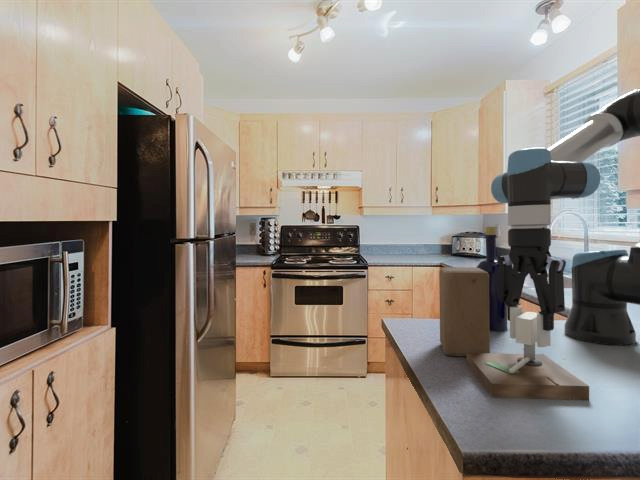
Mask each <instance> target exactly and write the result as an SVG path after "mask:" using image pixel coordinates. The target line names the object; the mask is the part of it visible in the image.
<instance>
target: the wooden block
mask: <svg viewBox="0 0 640 480" xmlns="http://www.w3.org/2000/svg"><path fill="white" fill-rule="evenodd" d="M438 272H439V275H438V277H439V282H438V283H439V290H438V291H439V341H440V345H441V347H442V350H443V352H444V354H445V355H446V356H450V357H466V353H491V352H490V351H491V350H490V345H491V343H490V340H491V339H490V331H489V274H488V272H486V271H484V270H482V269H480V268H477V266H472V267H471V266H469V267H467V266H466V267H459V266H457V267H455V266H454V267H449V266H448V267H447V266H444V267H441V268H440V269H439V271H438Z"/></svg>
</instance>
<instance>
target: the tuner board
mask: <svg viewBox="0 0 640 480" xmlns="http://www.w3.org/2000/svg"><path fill="white" fill-rule="evenodd" d="M465 357H466V365H467V366H468V368H469V369H470V371H471V372H472V373H473V374H474V376H475V377H476V378H477V380H478V381H479V382H480V383H481V385H483V387H484V389H485V390H486V391H487V392H488V393H489V394H490V397H492V398H511V399H512V398H515V399H545V400H546V399H547V400H549V399H550V400H551V399H552V400H577V401H578V400H581V401H582V400H583V401H589V400H590V386H589V384H587V383H585V382H584V381H583V380H581V379H580V378H579V377H577V376H576V375H574V374H572V373H571V372H570V371H568V370H567V369H565V368H564V367H562V366H561V365H560V364H558V363H557V362H555V361H554V360H552V358H550V357H548V356H547V355H545V354H543V353H535V360H534V361H528V362H527V363H526V364H524V365H523V366H522V367H520V368H519V369H518V370H516V371H515V372H514V373H511V372H509V369H510V368H512V367H513V366H514V365H516V364H517V363H518V362H520V361H521V360H523V359H524V353H491V352H490V353H466V356H465Z"/></svg>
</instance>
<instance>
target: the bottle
mask: <svg viewBox="0 0 640 480" xmlns="http://www.w3.org/2000/svg"><path fill="white" fill-rule="evenodd" d="M496 228H497V227H496V226H485V235H484V239H485V247H486V248H485V251H486V255H485V256H486V257H485V258H486V259H484V260H481V261H480V262H479V263H478V264H477V266H476V267H477V268H480V269H482V270H484V271H486V272H488V274H489V332H498V333H500V332H505V330H507V329H508V313H507V305H506V303H504V302H501V301H499V269H500V267H499V263H498V259H496V249H497V248H496V245H497V243H496V242H497V237H498V236H497V234H496V233H497V232H496V231H497V229H496ZM507 331H508V330H507Z"/></svg>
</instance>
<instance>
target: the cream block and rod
mask: <svg viewBox="0 0 640 480" xmlns="http://www.w3.org/2000/svg"><path fill="white" fill-rule="evenodd" d="M537 313H538V312H533V311H526V312H524V313H522V315H520V316H518V317H516V338H515V343H518V344H523V354H524V359H523V360H521V361H520V362H518V363H517V364H516V365H514V366H513V367H512V368H510V369H509V372H511V373H514V372H515V371H516V370H518V369H519V368H520V367H522V366H523V365H524V364H526V363H527V362H528V361H534V360H535V354H536V343H537Z"/></svg>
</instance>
